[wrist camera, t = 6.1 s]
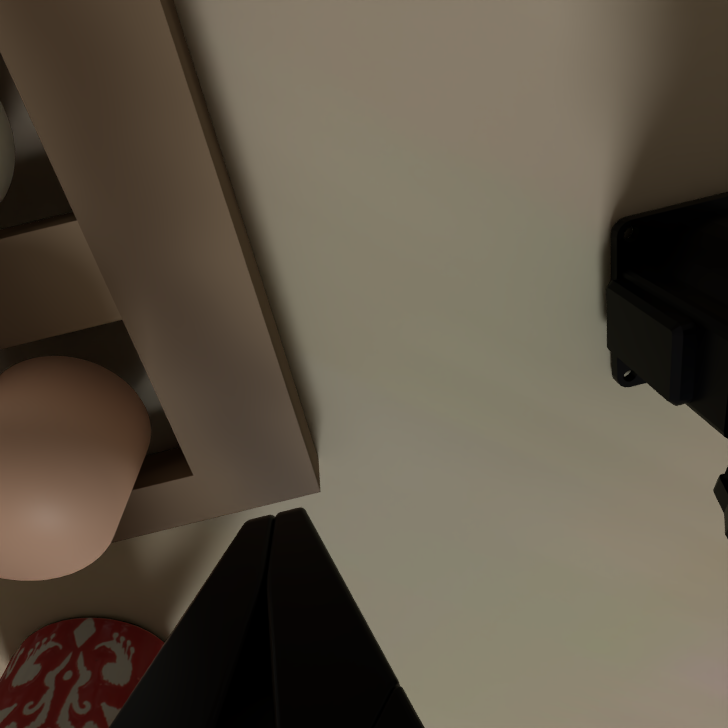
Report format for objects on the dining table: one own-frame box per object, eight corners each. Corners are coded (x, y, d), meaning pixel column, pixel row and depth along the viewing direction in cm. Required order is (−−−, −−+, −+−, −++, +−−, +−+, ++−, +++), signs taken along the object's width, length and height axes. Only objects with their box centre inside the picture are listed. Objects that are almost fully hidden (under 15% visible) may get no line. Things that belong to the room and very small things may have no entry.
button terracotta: (112, 338, 17) (65, 407, 13) (174, 467, 19) (146, 556, 16) (-49, 377, 17) (-140, 457, 13) (31, 502, 19) (-28, 598, 16)
